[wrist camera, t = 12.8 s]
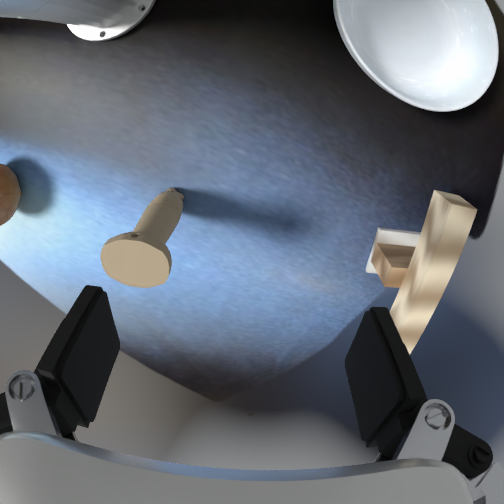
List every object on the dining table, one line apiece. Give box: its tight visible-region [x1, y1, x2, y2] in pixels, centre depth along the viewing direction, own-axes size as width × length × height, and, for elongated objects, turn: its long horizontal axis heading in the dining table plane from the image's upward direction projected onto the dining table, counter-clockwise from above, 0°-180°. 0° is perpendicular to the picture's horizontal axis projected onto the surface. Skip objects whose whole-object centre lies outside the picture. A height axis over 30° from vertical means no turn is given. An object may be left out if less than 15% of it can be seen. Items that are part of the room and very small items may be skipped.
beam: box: [390, 190, 477, 355], centre depth 34 cm, size 24×4×4 cm, turn 175°
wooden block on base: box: [366, 227, 421, 287], centre depth 39 cm, size 7×9×7 cm
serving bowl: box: [333, 0, 499, 112], centre depth 23 cm, size 21×21×7 cm
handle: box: [101, 188, 184, 288], centre depth 32 cm, size 5×6×15 cm
